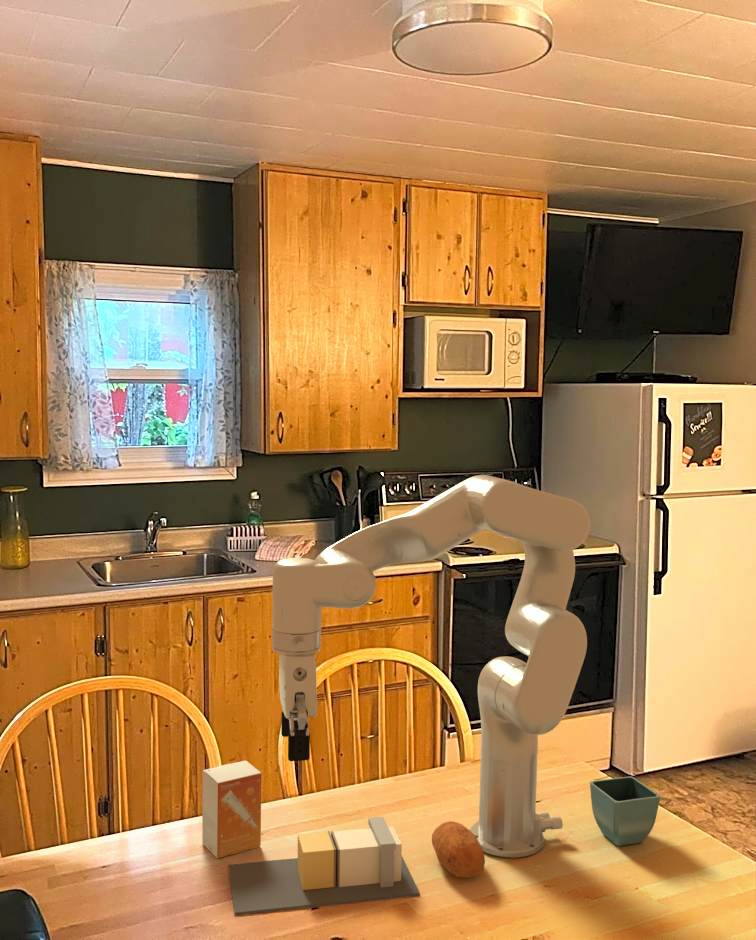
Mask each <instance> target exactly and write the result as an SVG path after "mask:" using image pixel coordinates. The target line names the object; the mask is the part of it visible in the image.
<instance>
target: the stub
mask: <svg viewBox="0 0 756 940" xmlns="http://www.w3.org/2000/svg"><path fill="white" fill-rule="evenodd" d="M297 858H298V874H299V878H300V881H301V885H302V889H303V890H310V889H320V888H329V887H336V848H335V845H334V842H333V840H332V837H331V831H330V830H326V831H317V832H305V833H298V834H297Z"/></svg>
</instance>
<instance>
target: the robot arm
mask: <svg viewBox="0 0 756 940" xmlns="http://www.w3.org/2000/svg"><path fill="white" fill-rule="evenodd" d="M485 530H486V531H489V532H492V533H495V534H498V535H501V536H504V537H507V538H510V539H513V540H516V541H521V544H522V547H523V552H524V563H523V564H524V565H523V569H522V573H521V578H520V580H519V583H518V586H517V589H516V593H515V595H514V598H513V600H512V604H511V607H510V609H509V612H508V615H507V618H506V622H505V626H504V635H505V637H506V640H507V642H508V644H509V645H511V646H512V647H513V648H514V649H516V650H517V651H519V652H520V653H521V654H523V655H526V656H527V657H528V659H527V662H525V661H523V660H522V659H519V658H516V657H513V656H498V657H495V658H493V659H491V660H490V661H488V663H486V664H485V665H484V667H483V668H482V670H481V672H480V674H479V675H478V676H479V677H478V681H477V682H478V683H477V700H478V708H479V714H480V727H481V728H480V731H481V732H480V735H481V738H480V771H479V774H480V776H479V806H478V807H479V808H478V809H479V810H478V811H479V812H478V821H477V822H475V823H473V825H472V826H471V827H469V830H470V831H471V832H472V833H473V834H474V835H475V837H476V838H477V840H478V842H479V844H480V845H481V847H482V849H483V853H484V854H488V855H492V856H495V857H500V858H511V859H512V858H524V857H528V856H532V855H534V854H536V853H537V852H539V851H541V849H542V848H543V847H544V843H545V836H544V833H545V832H546V830H551V831H552V830H561V829H563V819H562V818H561V817H560V816H557V817H555V816H553V817H551V816H550V814H549V812H541V813H537V812H536V806H537V779H538V778H537V777H538V755H539V753H538V752H539V740H538V739H539V737H538V736H542V735H545V734H548V733H550V732H551V731H553V730H555V728H557V726H558V725H560V723H561V722H562V720H563V718H564V716H565V714H566V712H567V711H568V707H569V705H570V701H571V699H572V696H573V693H574V690H575V688H576V684H577V682H578V679H579V676H580V673H581V670H582V667H583V664H584V660H585V658H586V654H587V647H588V636H587V632H586V631H587V630H586V628H585V626H584V624H583V622H582V621H581V619H580V618H579V617H578V616H576V615H575V614H574V613H572V612H570V611H568V610H567V605H568V602H569V599H570V595H571V591H572V588H573V586H574V585H573V583H574V580H575V575H576V559H575V553H574V549H577V548H578V547H580V546H582V544H583V543H584V542H585V541H587V538H588V536H589V534H590V530H591V520H590V516H589V513H588V511H587V509H586V508H585V507H584V506H583V505H582V504H581V503H579V502H578V501H577V500H574V499H572V498H567V497H564V496H561V495H557V494H553V493H550V492H546V491H543V490H539V489H536V488H532V487H529V486H526V485H523V484H520V483H517V482H515V481H512V480H509V479H504V478H500V477H498V476H497V477H496V476H492V475H486V474H478V475H474V476H471V477H469V478H466V479H465V480H464V479H463V481H461V482H459V483H457V484H455V485H454V486H452V487H450V488H449V489H447V490H445V491H443V492H442V493H440V494H437V495H436V496H435V497H433V498H431V499H430V500H427V501H426V502H424V503H422V504H420V505H419V506H417V507H415V508H414V509H412V510H410V511H407V512H406V513H403V514H400V515H397V516H393V517H391V518H389V519H386V520H383V521H380V522H378V523H375V524H372V525H369V526H366V527H365V528H362V529H359V530H358V531H355V532H353V533H352V534H349V535H348V536H345V538H342V539H340V540H339V541H337V542H335V543H334V544H332V545H330V546H329V547H327V548H325V549H324V550H323V551H321V553H319V554H318V555H317V556H316V557H315V559H312V558H305V557H288V558H283V559H280V560H278V561H276V563H275V564H274V566H273V569H272V603H271V604H272V607H271V608H272V609H271V611H272V612H271V613H272V614H271V615H272V619H271V628H272V629H271V650H272V651H273V652H274V653H275V654H278V657H279V658H278V659H279V660H278V687H279V688H278V689H279V700H280V705H281V708H282V710H281V732H280V733H281V737H284V738H287V740H288V741H287V759H288V761H289V762H301V761H309V760H310V758H311V757H310V754H311V753H310V751H311V746H310V745H311V733H310V725H309V724H310V723H309V717H310V718H311V717H312V719H315V718H316V717H317V715H318V706H317V705H318V700H317V699H318V698H317V697H318V695H317V693H318V690H317V660H316V654H317V653H319V652H320V651H321V649H322V616H323V615H322V608H335V609H342V610H343V609H346V610H347V609H348V610H349V609H351V610H352V609H358V608H360V607H363V606H365V605H366V604H368V603H369V602H370V601H371V600H372V599H373V598H374V595H375V593H376V589H377V580H376V579H377V578H376V576H375V573H374V572H375V571H378V570H381V569H382V568H385V567H388V566H392V565H396V564H404V563H420V562H426V561H431V560H435V559H437V558H439V557H441V556H442V555H444V554H445V553H447V552H448V551H450V550H452V549H454V548H456V547H458V545H461V544H462V543H464V542H465V541H467V540H468V539H471V538H473V537H474V536H476V535H477V534H479V533H481V532H482V531H485Z"/></svg>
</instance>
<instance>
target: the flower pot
mask: <svg viewBox="0 0 756 940" xmlns="http://www.w3.org/2000/svg"><path fill="white" fill-rule="evenodd" d="M589 787H590V789H589V790H590V799H591V802H590V803H591V809H592V813H593V818H594V821H595V822H596V824H597V827H598V828H599V830H600V832H601V834H602V835H604V836H605V838H607V839H608V840H609V841H611V842H612V843H613V844H614V845H616V846H618V847H621V846H626V845H634V844H641V843H642V842H644V841H645V840H646V839H647V837H648V836H649V835H650V834H651V832H652V830H653V828H654V826H655V823H656V819H657V815H658V810H659V804H660V799H661V796H660V795H659V793H656V792H655V791H654V790H653V789H651V788H650V787H648V786H646V785H645V784H643V783H642V782H641V781H639V779H637V778H635V777H634V776H631V775H630V776H623V777H615V778H607V779H606V778H605V779H599V780H591V781H589Z"/></svg>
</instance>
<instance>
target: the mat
mask: <svg viewBox="0 0 756 940" xmlns="http://www.w3.org/2000/svg"><path fill="white" fill-rule="evenodd" d="M228 875H229V880H230V889H231V897H232V904H233V907H232V908H233V913H234V916H242V915H248V914H251V915H252V914H258V913H270V912H278V911H288V910H297V909H305V908H307V909H308V908H315V907H324V906H325V907H327V906H334V905H343V904H353V903H362V902H373V901H381V900H391V899H400V898H408V897H420V896H421V893H420V890H419V888H418V886H417V884H416V882H415V880H414V878H413V875H412V874H411V871H410V870H409V867H408V865H407V864H406V861H405V860H404V857H403V854H401V881H394V886H390V887H381V886H380V884H379V883H374V884H365V885H355V886H345V887H337V884H336V887H329V888H320V889H310V890H303V889H302V885H301V881H300V878H299V874H298V857H295V858H284V859H274V860H262V861H254V862H253V861H252V862H242V863H241V862H240V863H233V864H232V863H231V864H228Z"/></svg>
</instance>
